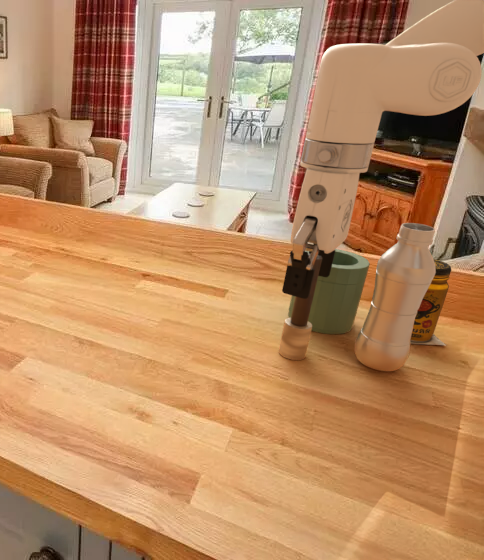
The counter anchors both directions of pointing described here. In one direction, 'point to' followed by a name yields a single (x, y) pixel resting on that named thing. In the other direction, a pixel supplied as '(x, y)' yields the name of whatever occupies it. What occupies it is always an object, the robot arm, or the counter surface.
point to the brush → (299, 323)
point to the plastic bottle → (396, 299)
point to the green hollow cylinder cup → (337, 294)
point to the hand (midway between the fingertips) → (306, 284)
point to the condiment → (431, 307)
